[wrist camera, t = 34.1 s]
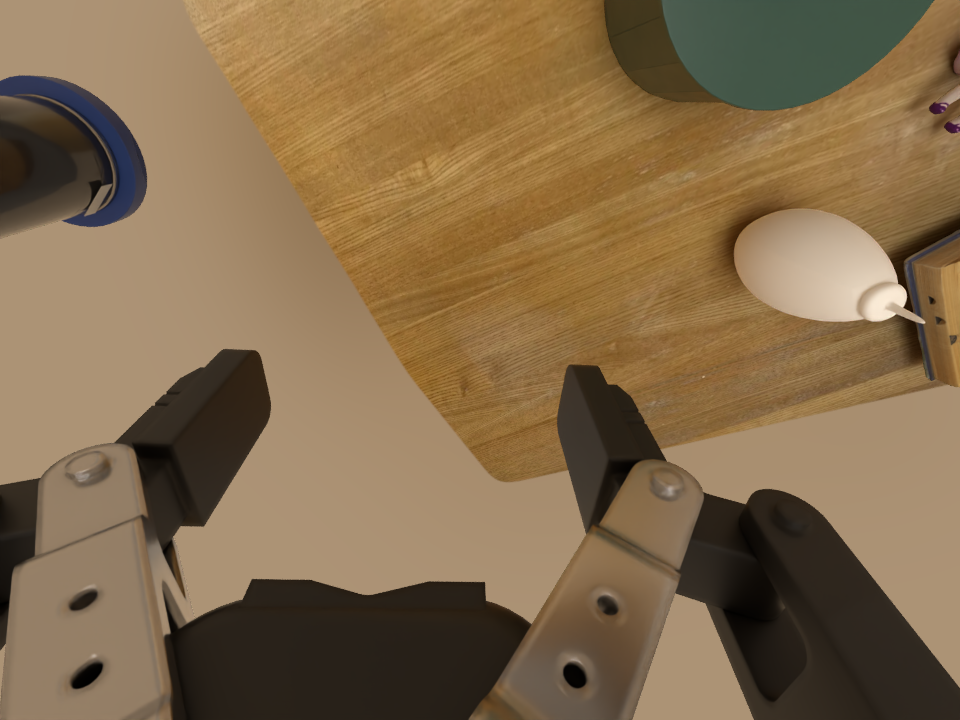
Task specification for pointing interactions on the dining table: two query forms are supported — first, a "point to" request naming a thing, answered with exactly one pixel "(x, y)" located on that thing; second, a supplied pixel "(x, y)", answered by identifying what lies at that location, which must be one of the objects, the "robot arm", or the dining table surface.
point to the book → (937, 306)
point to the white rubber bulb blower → (818, 268)
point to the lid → (783, 45)
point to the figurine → (949, 101)
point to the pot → (648, 51)
